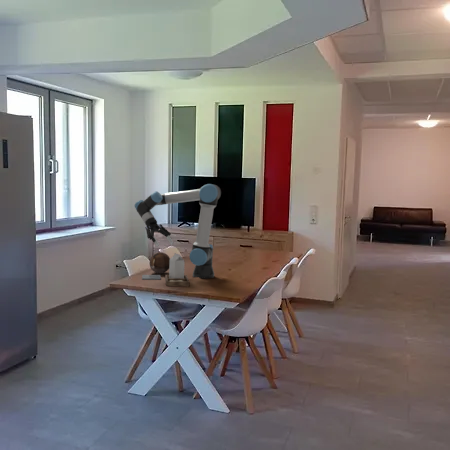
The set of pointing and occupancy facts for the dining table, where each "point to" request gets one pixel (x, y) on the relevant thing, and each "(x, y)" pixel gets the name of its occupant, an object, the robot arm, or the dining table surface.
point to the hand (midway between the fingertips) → (165, 244)
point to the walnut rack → (177, 283)
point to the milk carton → (176, 267)
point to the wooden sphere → (159, 262)
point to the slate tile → (151, 277)
